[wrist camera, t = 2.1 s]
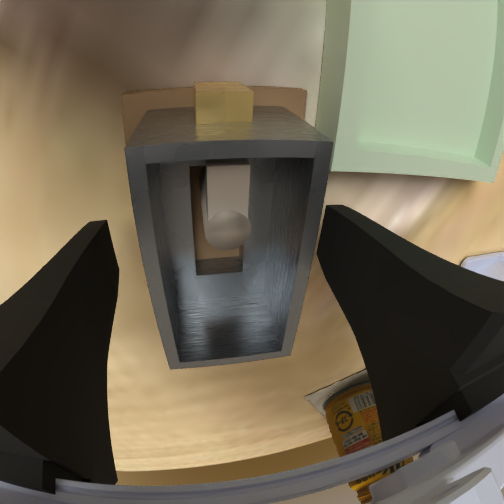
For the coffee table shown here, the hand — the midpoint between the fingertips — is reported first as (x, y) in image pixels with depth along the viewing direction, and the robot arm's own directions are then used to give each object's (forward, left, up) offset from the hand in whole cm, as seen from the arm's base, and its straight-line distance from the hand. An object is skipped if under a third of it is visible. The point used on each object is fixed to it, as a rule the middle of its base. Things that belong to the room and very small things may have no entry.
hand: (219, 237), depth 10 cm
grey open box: (0, 0, -2) cm, 2 cm away
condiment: (-20, -12, -3) cm, 24 cm away
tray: (+8, -9, -2) cm, 12 cm away
